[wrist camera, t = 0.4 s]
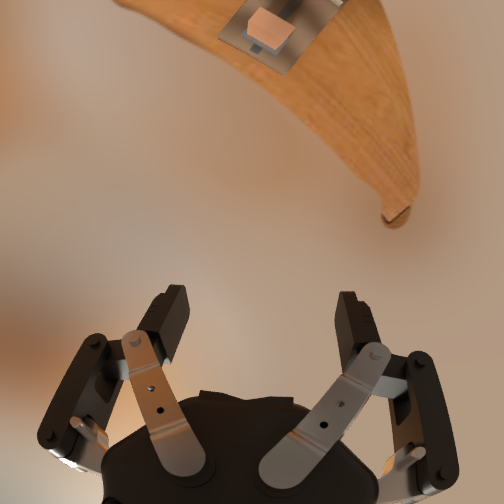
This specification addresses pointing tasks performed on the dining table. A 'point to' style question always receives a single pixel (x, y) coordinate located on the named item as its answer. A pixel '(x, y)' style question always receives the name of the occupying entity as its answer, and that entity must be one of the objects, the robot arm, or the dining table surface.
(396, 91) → the dining table surface
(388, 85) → the dining table surface
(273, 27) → the fader
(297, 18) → the console
